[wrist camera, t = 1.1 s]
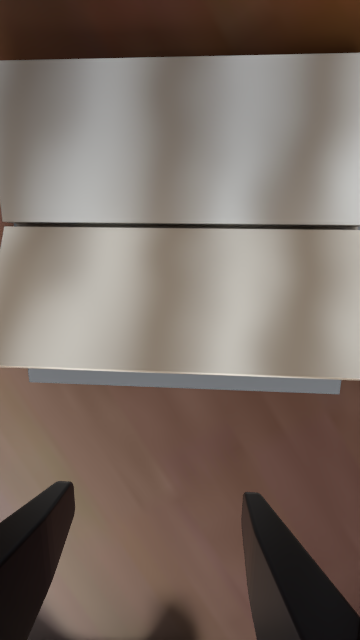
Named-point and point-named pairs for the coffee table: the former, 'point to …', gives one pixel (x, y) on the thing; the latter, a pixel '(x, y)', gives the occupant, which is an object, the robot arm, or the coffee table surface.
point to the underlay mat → (185, 380)
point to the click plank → (182, 301)
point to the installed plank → (182, 142)
